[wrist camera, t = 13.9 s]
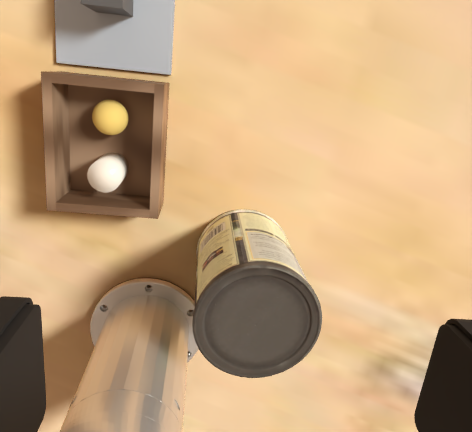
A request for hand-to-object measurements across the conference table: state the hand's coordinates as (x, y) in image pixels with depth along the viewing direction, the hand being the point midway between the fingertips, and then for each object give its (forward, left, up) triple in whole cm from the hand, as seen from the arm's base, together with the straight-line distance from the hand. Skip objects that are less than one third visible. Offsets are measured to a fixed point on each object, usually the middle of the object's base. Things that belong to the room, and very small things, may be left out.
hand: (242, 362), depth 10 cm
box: (-1, +10, -34) cm, 36 cm away
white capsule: (-4, +10, -34) cm, 35 cm away
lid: (+12, +10, -35) cm, 38 cm away
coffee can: (-12, -4, -34) cm, 37 cm away
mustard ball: (+1, +10, -34) cm, 35 cm away
